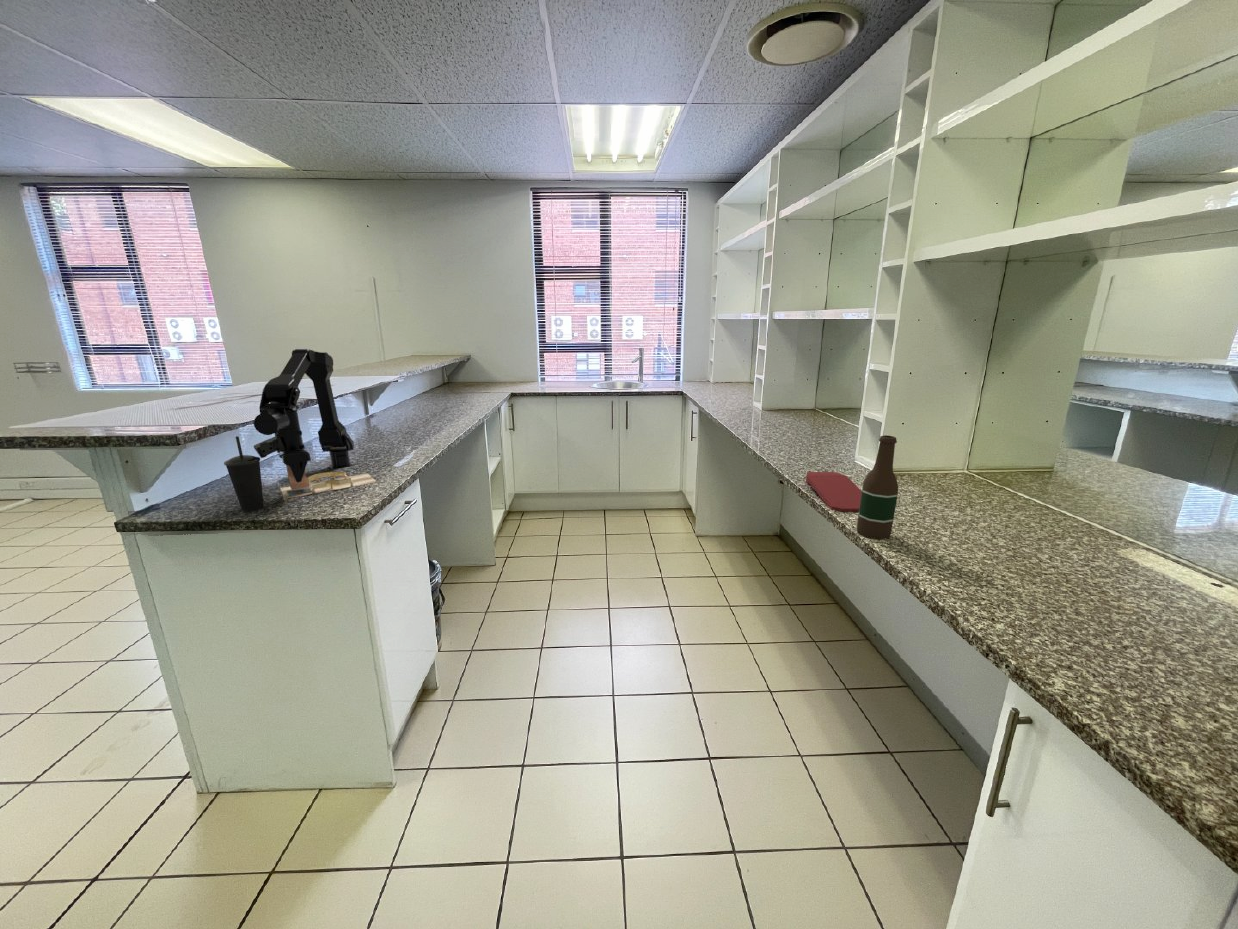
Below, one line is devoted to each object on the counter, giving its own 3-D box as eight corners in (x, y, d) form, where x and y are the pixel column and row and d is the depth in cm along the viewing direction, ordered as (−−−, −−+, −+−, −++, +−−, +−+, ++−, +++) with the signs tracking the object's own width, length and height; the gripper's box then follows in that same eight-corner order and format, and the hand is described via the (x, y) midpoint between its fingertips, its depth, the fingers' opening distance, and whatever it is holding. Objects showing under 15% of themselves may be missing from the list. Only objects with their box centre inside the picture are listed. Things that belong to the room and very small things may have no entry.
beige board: (280, 491, 144) (279, 487, 144) (368, 476, 159) (367, 472, 158) (285, 502, 135) (284, 497, 135) (377, 485, 150) (377, 481, 149)
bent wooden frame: (306, 483, 148) (304, 475, 147) (345, 477, 154) (343, 469, 154) (312, 493, 139) (311, 485, 138) (353, 486, 145) (352, 478, 145)
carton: (874, 524, 131) (836, 482, 154) (879, 508, 129) (839, 469, 152) (830, 524, 131) (799, 482, 154) (834, 508, 129) (801, 468, 152)
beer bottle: (897, 540, 112) (915, 440, 105) (863, 540, 112) (879, 440, 106) (881, 527, 119) (897, 433, 113) (849, 526, 120) (863, 432, 113)
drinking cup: (241, 505, 132) (225, 434, 127) (273, 502, 135) (259, 432, 129) (230, 515, 125) (212, 440, 120) (265, 511, 128) (249, 438, 122)
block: (290, 486, 140) (285, 463, 138) (306, 483, 143) (301, 461, 141) (291, 489, 137) (287, 466, 136) (308, 487, 140) (303, 463, 138)
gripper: (250, 425, 137) (260, 478, 142) (255, 437, 123) (267, 494, 128) (296, 421, 144) (305, 471, 148) (305, 431, 130) (315, 485, 135)
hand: (297, 480), depth 140 cm, fingers closed on block, 4 cm apart
